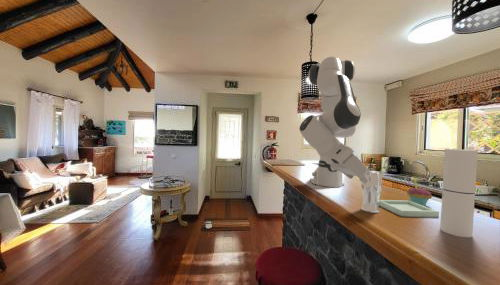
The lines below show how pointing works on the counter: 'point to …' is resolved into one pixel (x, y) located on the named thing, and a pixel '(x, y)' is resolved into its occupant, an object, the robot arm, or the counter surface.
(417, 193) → the cupcake
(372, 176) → the white upright block
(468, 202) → the cylindrical container
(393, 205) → the tray
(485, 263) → the counter surface
